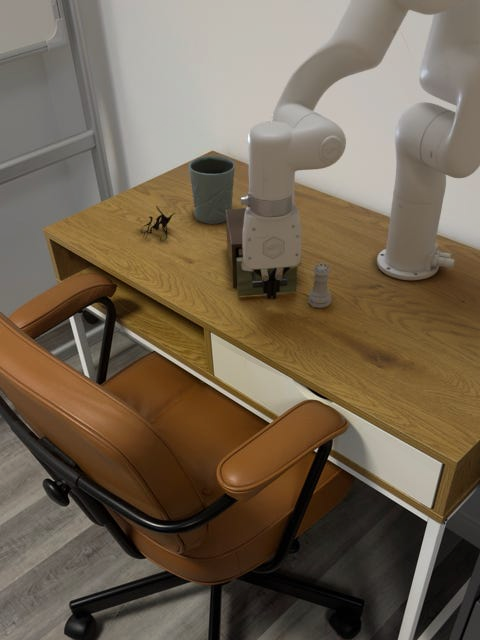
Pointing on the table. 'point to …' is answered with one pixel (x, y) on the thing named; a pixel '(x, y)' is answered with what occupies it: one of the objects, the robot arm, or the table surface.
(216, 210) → the grey green cup
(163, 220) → the creature
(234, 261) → the cabinet
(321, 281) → the rook chess piece
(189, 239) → the table surface
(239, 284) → the drawer
